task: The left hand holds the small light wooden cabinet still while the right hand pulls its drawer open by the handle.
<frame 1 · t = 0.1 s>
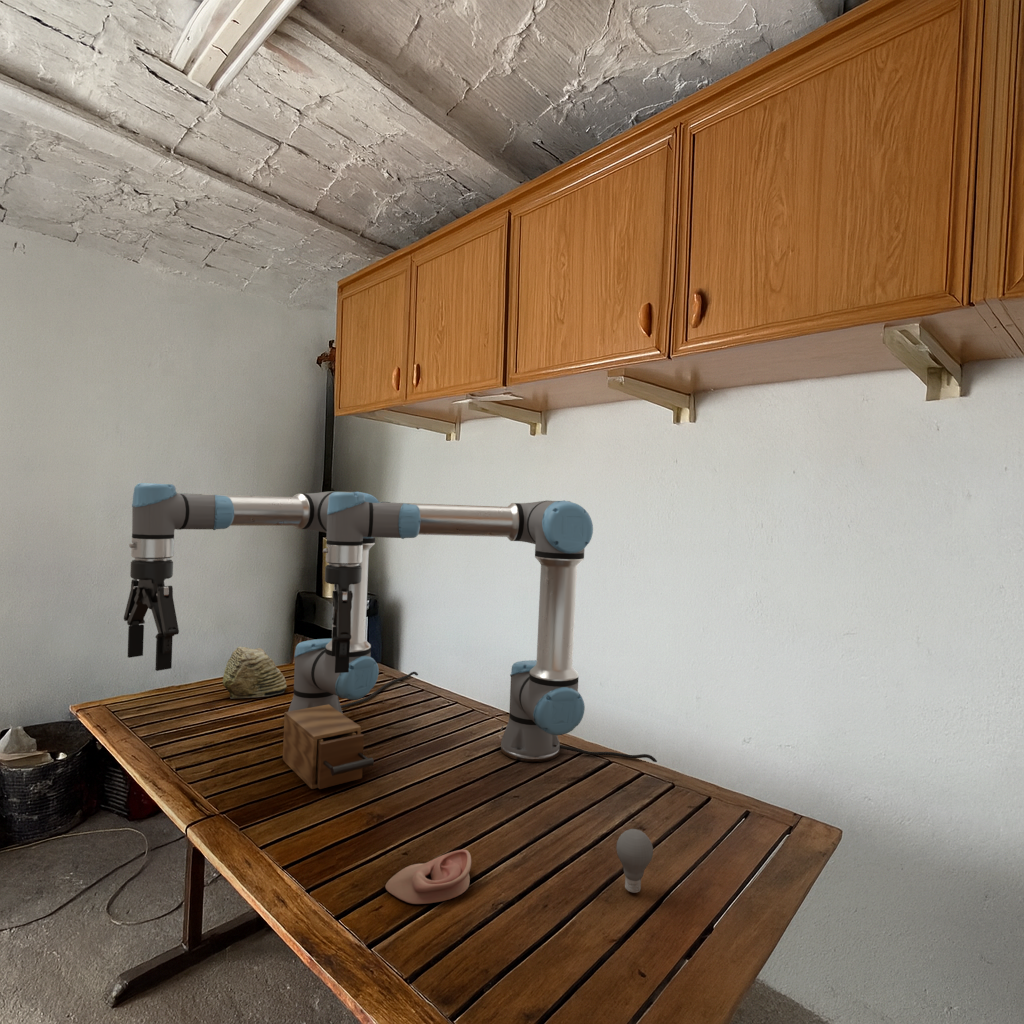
left hand: (148, 662, 129), 28 cm above the table, tool pointing down, fingers open, 13 cm apart
right hand: (339, 663, 135), 28 cm above the table, tool pointing down, fingers open, 13 cm apart
fossil: (254, 694, 198), on the table
cabinet: (319, 768, 147), on the table
anatomical model: (428, 885, 105), on the table
drawer: (331, 753, 142), point 6 cm above the table, slide at 1.6 cm
light bulb: (632, 891, 106), on the table
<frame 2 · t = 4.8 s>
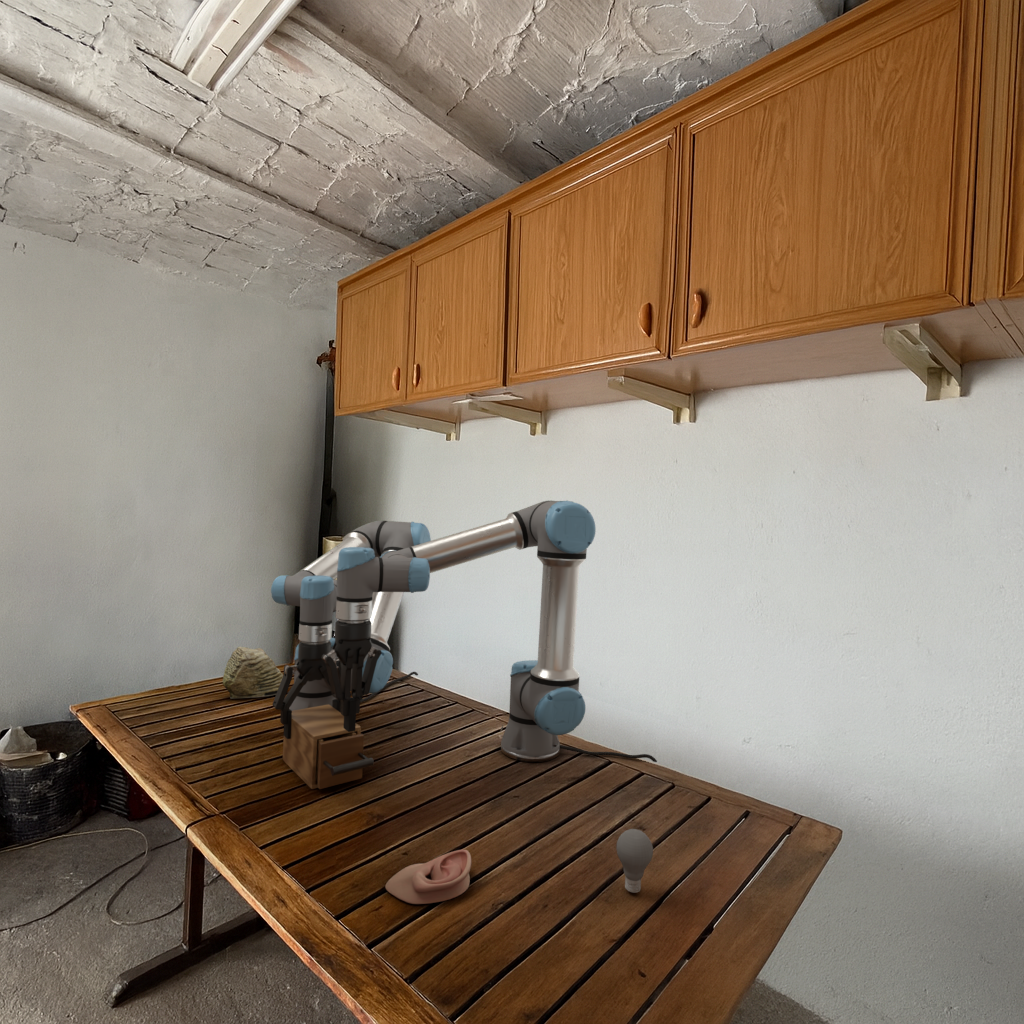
left hand: (311, 732, 152), 7 cm above the table, tool pointing down, fingers closed on cabinet, 11 cm apart
right hand: (349, 729, 136), 14 cm above the table, tool pointing down, fingers closed
cabinet: (319, 768, 147), on the table, touching left hand
everything else where it was.
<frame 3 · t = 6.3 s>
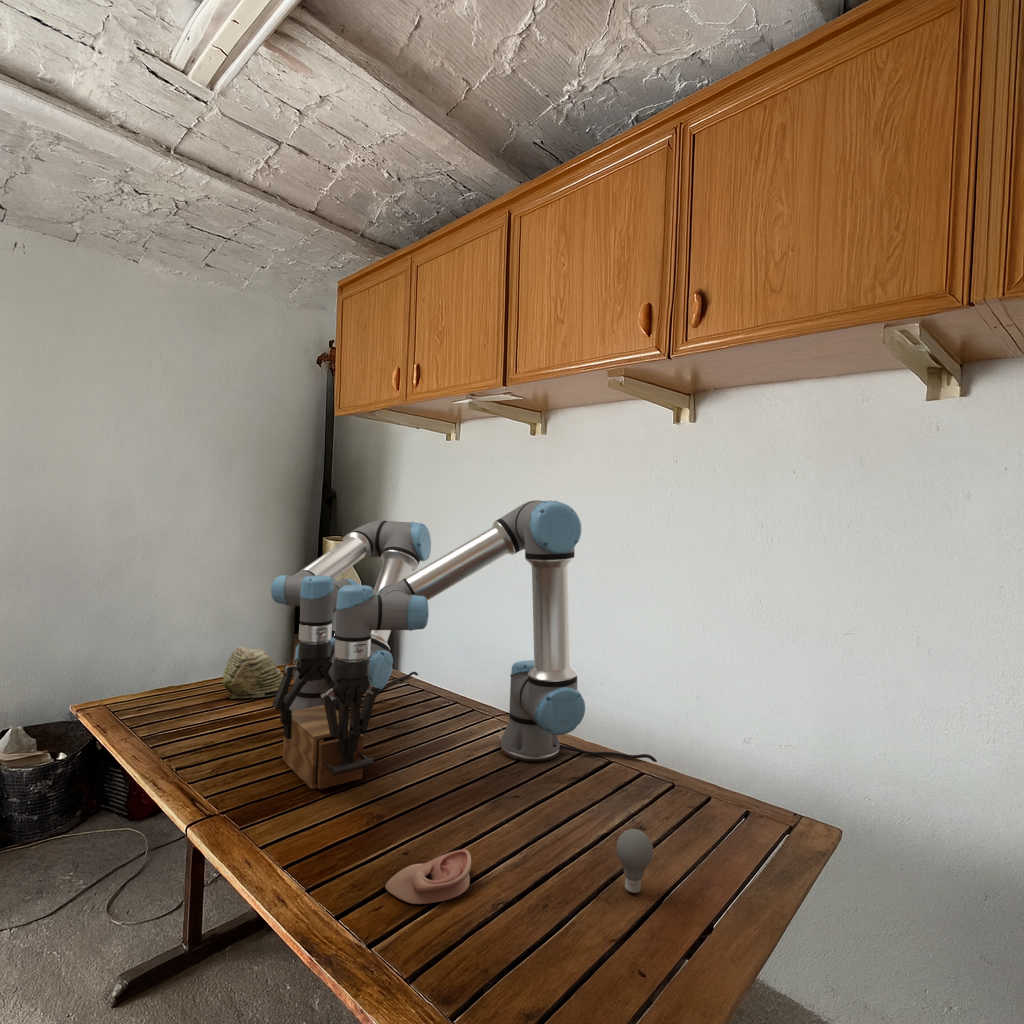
left hand: (311, 732, 152), 7 cm above the table, tool pointing down, fingers closed on cabinet, 11 cm apart
right hand: (346, 767, 136), 6 cm above the table, tool pointing down, fingers closed
cabinet: (319, 768, 147), on the table, touching left hand
everything else where it was.
when the left hand's fingers open (7 cm above the table, at t = 9.4 s): cabinet stays where it is, on the table.
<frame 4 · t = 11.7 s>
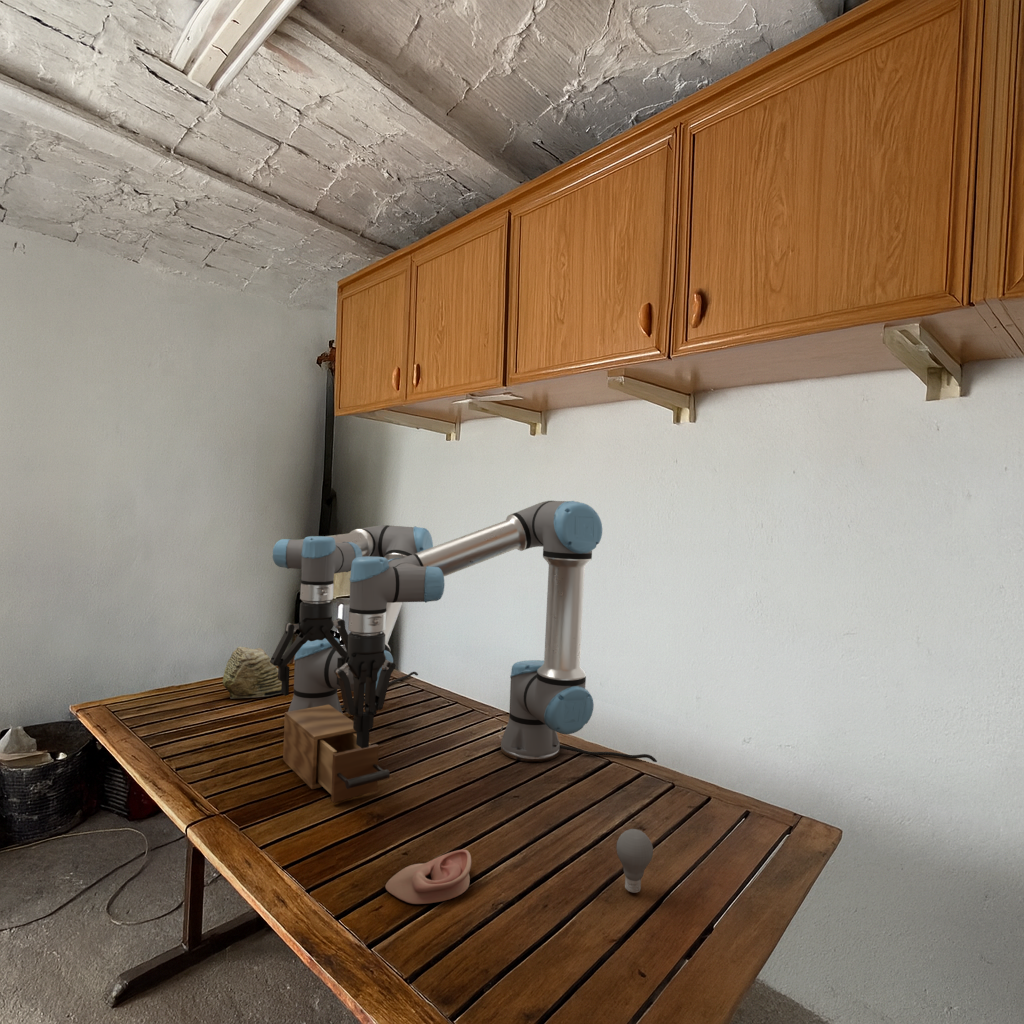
left hand: (313, 689, 152), 17 cm above the table, tool pointing down, fingers open, 13 cm apart
right hand: (362, 745, 131), 12 cm above the table, tool pointing down, fingers closed
cabinet: (320, 768, 147), on the table
drawer: (345, 764, 137), point 6 cm above the table, slide at 8.6 cm
everything else where it was.
at the end: drawer slide at 8.6 cm; cabinet tilted 0°; cabinet never tilted more than 1° during the clip; cabinet moved 0.1 cm from its start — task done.
